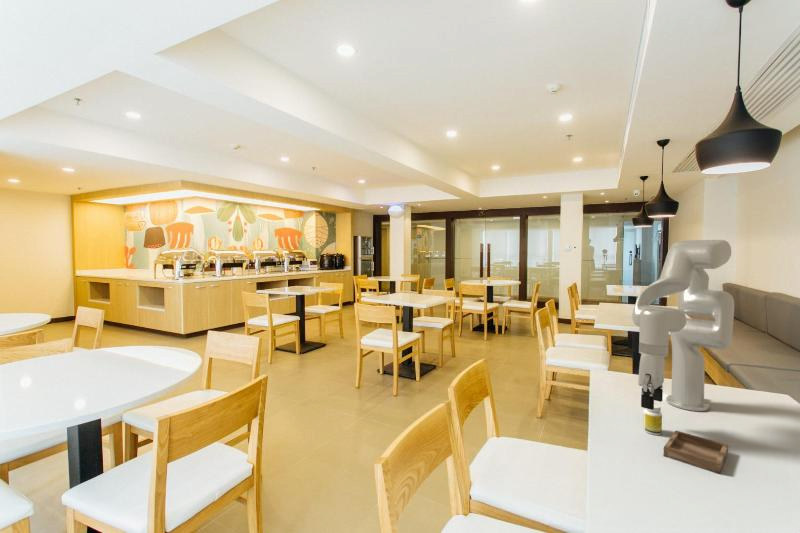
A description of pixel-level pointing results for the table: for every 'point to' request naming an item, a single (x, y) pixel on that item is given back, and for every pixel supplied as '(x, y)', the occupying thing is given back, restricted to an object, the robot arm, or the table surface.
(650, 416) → the supplement bottle
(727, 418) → the table surface
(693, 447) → the tray
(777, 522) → the table surface
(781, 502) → the table surface
